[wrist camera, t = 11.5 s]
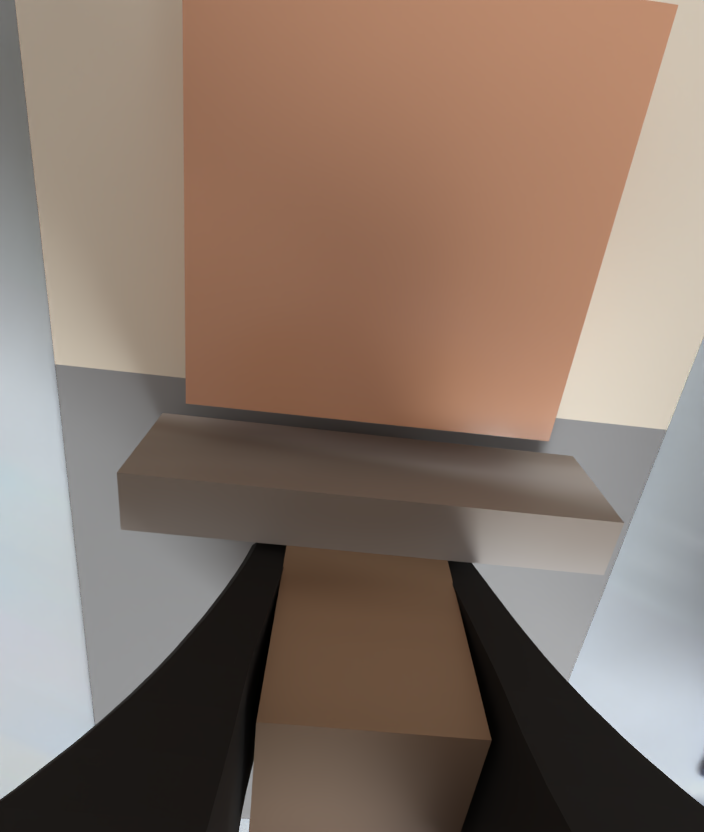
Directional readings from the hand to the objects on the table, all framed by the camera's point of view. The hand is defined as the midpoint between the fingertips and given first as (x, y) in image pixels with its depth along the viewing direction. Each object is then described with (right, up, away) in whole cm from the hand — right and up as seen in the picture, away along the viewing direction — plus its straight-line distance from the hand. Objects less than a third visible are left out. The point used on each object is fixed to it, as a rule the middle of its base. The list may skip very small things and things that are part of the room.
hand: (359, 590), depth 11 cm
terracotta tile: (+1, +7, 0) cm, 7 cm away
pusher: (0, -1, +3) cm, 3 cm away
